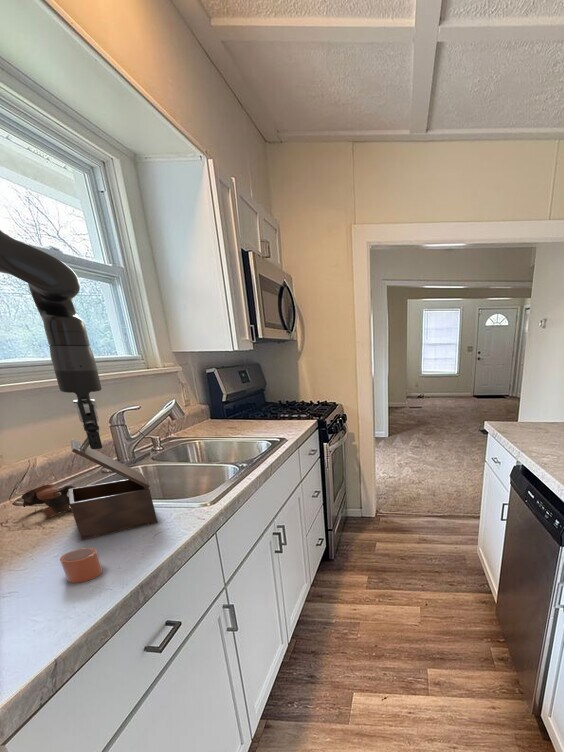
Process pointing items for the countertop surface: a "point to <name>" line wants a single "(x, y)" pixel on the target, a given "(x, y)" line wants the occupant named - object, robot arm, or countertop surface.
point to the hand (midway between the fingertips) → (95, 446)
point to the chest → (111, 507)
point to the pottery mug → (48, 498)
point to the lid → (107, 462)
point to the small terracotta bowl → (81, 565)
